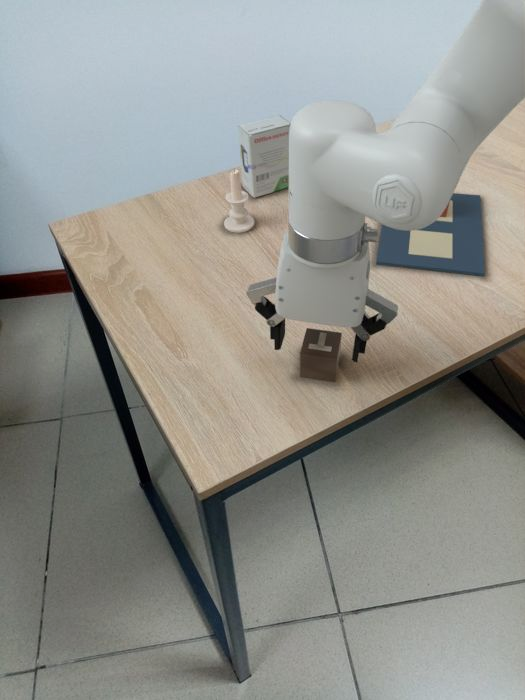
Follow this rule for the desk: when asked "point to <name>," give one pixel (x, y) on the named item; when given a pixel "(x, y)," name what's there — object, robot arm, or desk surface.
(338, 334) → the wooden letter block
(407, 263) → the mat
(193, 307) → the desk surface
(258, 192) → the ink box
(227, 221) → the candle
